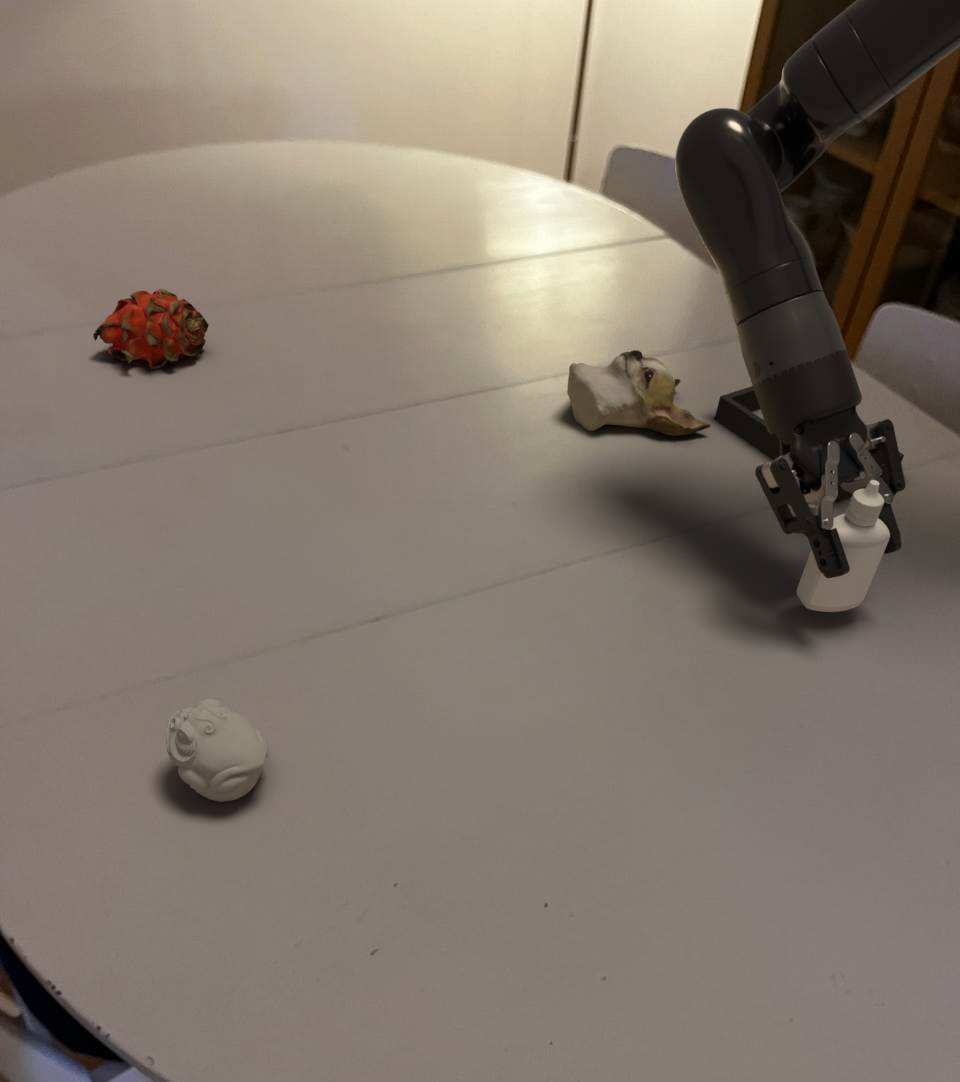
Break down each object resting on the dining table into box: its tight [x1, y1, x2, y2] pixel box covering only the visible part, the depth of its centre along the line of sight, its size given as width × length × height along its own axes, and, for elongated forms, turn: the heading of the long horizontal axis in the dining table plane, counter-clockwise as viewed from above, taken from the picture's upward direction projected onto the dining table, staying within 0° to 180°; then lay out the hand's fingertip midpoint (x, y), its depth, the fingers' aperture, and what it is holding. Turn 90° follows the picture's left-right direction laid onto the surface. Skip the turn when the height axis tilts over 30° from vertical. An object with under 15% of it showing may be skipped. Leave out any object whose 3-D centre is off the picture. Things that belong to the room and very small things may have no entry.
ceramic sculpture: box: [566, 349, 711, 437], centre depth 111 cm, size 11×9×15 cm
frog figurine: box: [165, 698, 269, 803], centre depth 71 cm, size 6×7×7 cm
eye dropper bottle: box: [796, 480, 890, 613], centre depth 86 cm, size 4×6×12 cm
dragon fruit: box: [92, 288, 210, 370], centre depth 113 cm, size 8×8×12 cm
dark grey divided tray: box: [714, 385, 905, 503], centre depth 110 cm, size 9×17×4 cm, turn 34°
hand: (864, 562), depth 85 cm, fingers closed on eye dropper bottle, 5 cm apart
